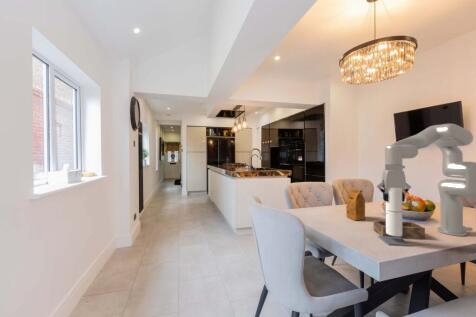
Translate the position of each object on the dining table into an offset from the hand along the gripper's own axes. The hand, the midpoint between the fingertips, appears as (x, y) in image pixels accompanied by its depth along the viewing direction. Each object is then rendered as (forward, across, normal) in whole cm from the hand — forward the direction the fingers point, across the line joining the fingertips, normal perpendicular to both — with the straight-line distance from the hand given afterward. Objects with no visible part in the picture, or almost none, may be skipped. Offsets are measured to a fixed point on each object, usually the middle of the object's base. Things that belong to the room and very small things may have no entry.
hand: (393, 200), depth 116 cm
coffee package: (+22, +4, -44) cm, 49 cm away
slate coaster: (+22, 0, 0) cm, 22 cm away
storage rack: (+22, -8, -12) cm, 26 cm away
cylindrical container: (+18, 0, 0) cm, 18 cm away
